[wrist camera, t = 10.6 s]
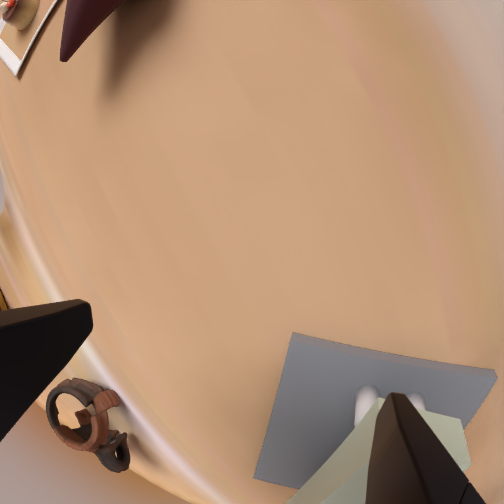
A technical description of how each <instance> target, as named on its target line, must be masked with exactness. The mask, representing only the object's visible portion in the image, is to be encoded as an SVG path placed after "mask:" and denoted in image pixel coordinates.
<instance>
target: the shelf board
mask: <svg viewBox="0 0 504 504" xmlns="http://www.w3.org/2000/svg"><path fill="white" fill-rule="evenodd" d="M384 401H385V399H383V398H380V397H378V398H377V400H376V401H375V403H374V404H373V405H372V407H371V408H370V409H369V411H368V412H367V413H366V414H365V416H364V417H363V418H362V420H361V421H360V422H359V423H358V425H357V426H356V427H355V428H354V430H353V431H352V432H351V433H350V434H349V436H348V437H347V438H346V439H345V440H344V442H343V443H342V444H341V445H340V446H339V447H338V449H337V450H336V451H335V452H334V453H333V454H332V455H331V457H330V458H329V459H328V460H327V461H326V462H325V463H324V464H323V465H322V466H321V468H320V469H319V470H318V471H317V472H316V473H315V474H314V475H313V476H312V477H311V478H310V479H309V480H308V481H307V482H306V483H305V484H304V485H303V486H302V487H301V488H300V489H299V490H298V491H297V492H296V493H295V494H294V495H293V496H292V497H291V498H290V499H289V500H288V501H287V502H286V503H285V504H365V501H366V489H367V475H368V466H369V460H370V455H371V449H372V443H373V436H374V430H375V423H376V418H377V415H378V412H379V411H380V409H381V407H382V405H383V403H384ZM416 409H417V411H418V412H419V413H420V414H421V416H422V417H423V418H424V420H425V421H426V422H427V424H428V425H429V426H430V428H431V429H432V430H433V432H434V433H435V434H436V436H437V437H438V439H439V440H440V441H441V443H442V444H443V445H444V447H445V448H446V449H447V451H448V452H449V453H450V455H451V456H452V458H453V459H454V460H455V462H456V463H457V464H458V466H459V467H460V469H461V470H462V471H463V472H464V471H465V470H466V469H467V468H468V467H470V466H471V461H470V457H469V452H468V448H467V444H466V440H465V435H464V432H463V428H462V424H461V420H460V419H458V418H453V417H449V416H445V415H441V414H437V413H433V412H429V411H425V410H422V409H418V408H416Z"/></svg>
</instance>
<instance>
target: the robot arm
mask: <svg viewBox="0 0 504 504" xmlns="http://www.w3.org/2000/svg"><path fill="white" fill-rule="evenodd" d="M92 329H93V319H92V311H91V306H90V304H89V303H88V302H86V301H84V300H81V299H75V300H68V301H62V302H56V303H49V304H42V305H36V306H29V307H22V308H16V309H9V310H2V311H0V442H1V441H2V439H3V438H4V437H5V436H6V434H7V433H8V432H9V431H10V430H11V428H12V427H13V426H14V425H15V424H16V422H17V421H18V420H19V419H20V418H21V416H22V415H23V414H24V412H26V410H27V409H28V408H29V407H30V406H31V405H32V403H33V402H34V401H35V400H36V399H37V398H38V397H39V395H40V394H41V393H42V392H43V391H44V390H45V388H46V387H47V386H48V385H49V384H50V383H51V382H52V381H53V379H54V378H55V377H56V376H57V375H58V374H59V373H60V372H61V371H62V369H63V368H64V367H65V366H66V365H67V364H68V362H69V361H70V360H71V358H72V357H73V356H74V354H75V353H76V352H77V350H78V349H79V348H80V346H81V345H82V344H83V342H84V341H85V340H86V338H87V337H88V336H89V334H90V333H91V332H92ZM468 482H469V480H468V478H467V477H466V476H465V474H464V473H463V471H462V470H461V469H460V467H459V466H458V464H457V463H456V462H455V460H454V459H453V458H452V456H451V455H450V453H449V452H448V451H447V449H446V448H445V447H444V445H443V444H442V443H441V441H440V440H439V439H438V437H437V436H436V434H435V433H434V432H433V430H432V429H431V428H430V426H429V425H428V424H427V422H426V421H425V420H424V418H423V417H422V416H421V414H420V413H419V412H418V411H417V409H416V408H415V407H414V405H413V404H412V403H411V401H410V400H409V399H408V397H407V396H406V395H405V394H403V393H397V392H390V393H389V394H388V395H387V397H386V399H385V401H384V403H383V405H382V407H381V409H380V411H379V412H378V415H377V418H376V423H375V430H374V436H373V443H372V449H371V455H370V460H369V466H368V475H367V489H366V501H365V504H486V503H485V502H484V500H483V499H482V498H481V496H480V495H479V494H478V492H477V491H476V489H475V488H474V487H473V485H472V484H471V483H470V482H469V483H468Z"/></svg>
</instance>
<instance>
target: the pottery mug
mask: <svg viewBox="0 0 504 504" xmlns="http://www.w3.org/2000/svg"><path fill="white" fill-rule="evenodd" d="M62 393H67V394H70V395H72V396H74V397H76V398H77V399H78V400H79V401H80V402H81V403H82V404H83V405H84V406H85V407H87V406H89V405H90V404H91V403H92V404H93V406H94V408H95V410H96V415H94V416H92V417H91V415H90V414H89V412H88V410H87V409H83V410H81V411H77V412H75V416H76V417H77V419H78V422H79V424H80V426H81V427H79V428H76V429H72V430H71V429H70V428H69V427H68V426H65V425H61V426H60V423H59V420H58V414H59V412H58V409H57V407H56V399H57V397H58V396H59V395H60V394H62ZM119 404H120V400H119V398H118V396H117V394H116V392H115V391H113V390H105V391H104V389H103V388H102V387H101V386H98V385H96V384H94V383H91V382H89V381H86V380H83V379H79V378H73V379H72V380H70V379H66V380H64V381H63V382H61V383H60V384H58V385H57V387H55V388H54V389H52V391H51V392H50V393H49V395H48V398H47V402H46V413H47V417H48V420H49V422H50V425H51V427H52V428H53V430H54V431H55V433H56V435H57V436H58V437H59V438H60V439H61V441H63V442H64V443H66V445H67V446H69V447H71V448H73V449H75V450H81V451H84V450H85V451H89V452H92V453H95V454H96V456H97V457H98V458H99V460H100V461H101V463H102V464H103V465H104V466H105V467H106V468H107V469H108V470H110V471H113V472H117V473H120V472H121V471H125V470H127V469H128V468H129V464H130V453H129V449H128V446H127V443H126V441H127V433H125V432H124V433H123V434H121V435H119V436H118V437H116V436H117V435H118V433H119V431H118V430H108V426H109V421H108V413H107V409H110V408H111V407H113V406H118V405H119ZM115 451H116V453H117V457H116V455H115Z"/></svg>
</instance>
